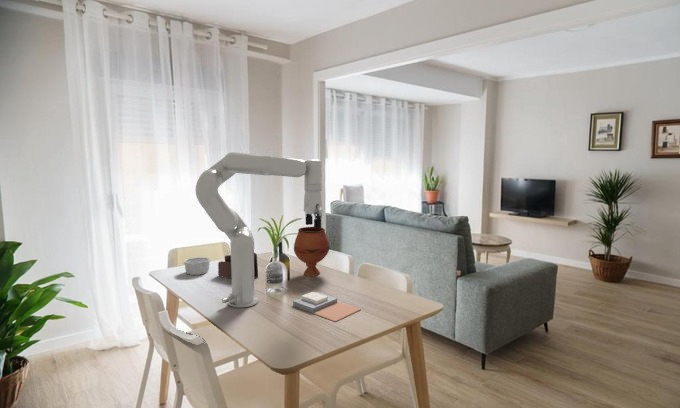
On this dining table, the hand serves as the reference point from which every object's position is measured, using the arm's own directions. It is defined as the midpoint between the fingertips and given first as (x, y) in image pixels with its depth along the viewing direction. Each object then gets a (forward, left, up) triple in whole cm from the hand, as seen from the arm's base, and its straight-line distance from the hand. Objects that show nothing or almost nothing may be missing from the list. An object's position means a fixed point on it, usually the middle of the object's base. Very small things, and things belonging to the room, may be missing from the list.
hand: (313, 226), depth 172 cm
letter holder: (-5, +50, -33) cm, 60 cm away
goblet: (+25, +25, -33) cm, 48 cm away
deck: (-6, -7, -32) cm, 34 cm away
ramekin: (-15, +73, -33) cm, 82 cm away
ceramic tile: (-6, -7, -30) cm, 31 cm away
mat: (-6, -20, -32) cm, 38 cm away
